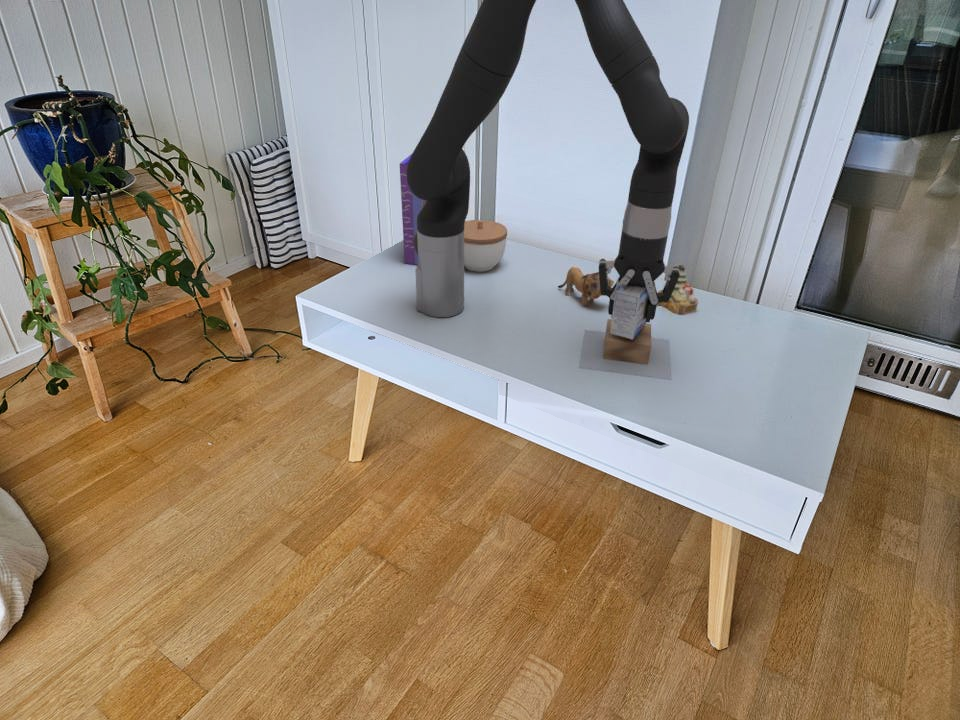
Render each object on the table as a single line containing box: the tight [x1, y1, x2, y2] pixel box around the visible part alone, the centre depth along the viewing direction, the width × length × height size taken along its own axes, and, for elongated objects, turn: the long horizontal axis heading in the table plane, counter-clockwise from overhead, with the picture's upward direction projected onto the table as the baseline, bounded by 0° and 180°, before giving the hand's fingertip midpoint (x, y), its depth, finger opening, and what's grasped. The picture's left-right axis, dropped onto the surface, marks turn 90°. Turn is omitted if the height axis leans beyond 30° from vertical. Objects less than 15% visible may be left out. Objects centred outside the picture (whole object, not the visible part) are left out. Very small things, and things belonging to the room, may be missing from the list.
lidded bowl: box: [464, 219, 508, 273], centre depth 149 cm, size 13×13×11 cm
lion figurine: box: [557, 266, 615, 307], centre depth 134 cm, size 15×5×9 cm, turn 36°
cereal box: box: [399, 153, 427, 267], centre depth 152 cm, size 17×5×24 cm, turn 167°
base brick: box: [603, 318, 652, 365], centre depth 117 cm, size 8×8×4 cm
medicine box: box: [610, 285, 650, 340], centre depth 113 cm, size 8×4×9 cm, turn 149°
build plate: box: [578, 329, 673, 381], centre depth 117 cm, size 16×14×1 cm
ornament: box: [657, 264, 699, 316], centre depth 131 cm, size 8×6×10 cm
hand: (630, 317), depth 114 cm, fingers closed on medicine box, 5 cm apart
